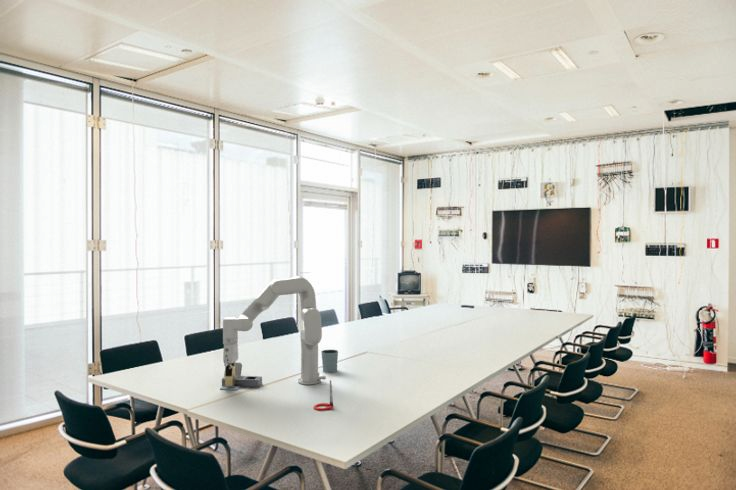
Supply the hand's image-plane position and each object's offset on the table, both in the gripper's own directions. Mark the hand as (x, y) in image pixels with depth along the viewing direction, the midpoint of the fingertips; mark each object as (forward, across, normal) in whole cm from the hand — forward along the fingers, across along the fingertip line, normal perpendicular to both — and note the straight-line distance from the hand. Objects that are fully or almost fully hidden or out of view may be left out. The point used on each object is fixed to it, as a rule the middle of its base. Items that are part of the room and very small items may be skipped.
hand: (230, 374), depth 261 cm
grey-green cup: (+8, +42, -46) cm, 62 cm away
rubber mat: (+7, 0, 0) cm, 7 cm away
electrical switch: (+8, +20, +6) cm, 22 cm away
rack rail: (+7, +7, -4) cm, 11 cm away
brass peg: (+5, 0, 0) cm, 5 cm away
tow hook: (+8, -24, -55) cm, 60 cm away
